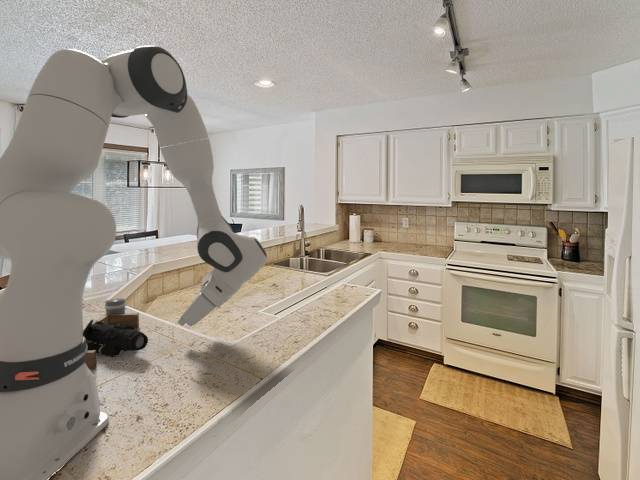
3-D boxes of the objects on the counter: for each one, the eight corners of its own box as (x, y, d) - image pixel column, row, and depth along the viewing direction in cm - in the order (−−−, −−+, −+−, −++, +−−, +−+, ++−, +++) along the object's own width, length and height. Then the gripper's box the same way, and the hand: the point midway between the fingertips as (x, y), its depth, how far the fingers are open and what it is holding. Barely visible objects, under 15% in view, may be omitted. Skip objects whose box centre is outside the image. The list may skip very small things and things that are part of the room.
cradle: (94, 369, 73) (93, 352, 73) (47, 371, 72) (46, 354, 71) (138, 326, 99) (138, 313, 99) (105, 327, 97) (105, 314, 97)
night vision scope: (144, 366, 80) (114, 354, 72) (94, 354, 86) (61, 342, 78) (160, 335, 84) (133, 320, 76) (111, 325, 90) (81, 311, 82)
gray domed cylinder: (121, 325, 99) (121, 303, 98) (102, 325, 98) (101, 303, 98) (128, 319, 104) (128, 298, 104) (110, 319, 104) (109, 298, 103)
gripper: (216, 271, 98) (181, 303, 97) (203, 287, 78) (160, 328, 77) (231, 285, 99) (197, 317, 99) (222, 305, 79) (180, 345, 79)
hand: (180, 322), depth 88 cm, fingers closed
